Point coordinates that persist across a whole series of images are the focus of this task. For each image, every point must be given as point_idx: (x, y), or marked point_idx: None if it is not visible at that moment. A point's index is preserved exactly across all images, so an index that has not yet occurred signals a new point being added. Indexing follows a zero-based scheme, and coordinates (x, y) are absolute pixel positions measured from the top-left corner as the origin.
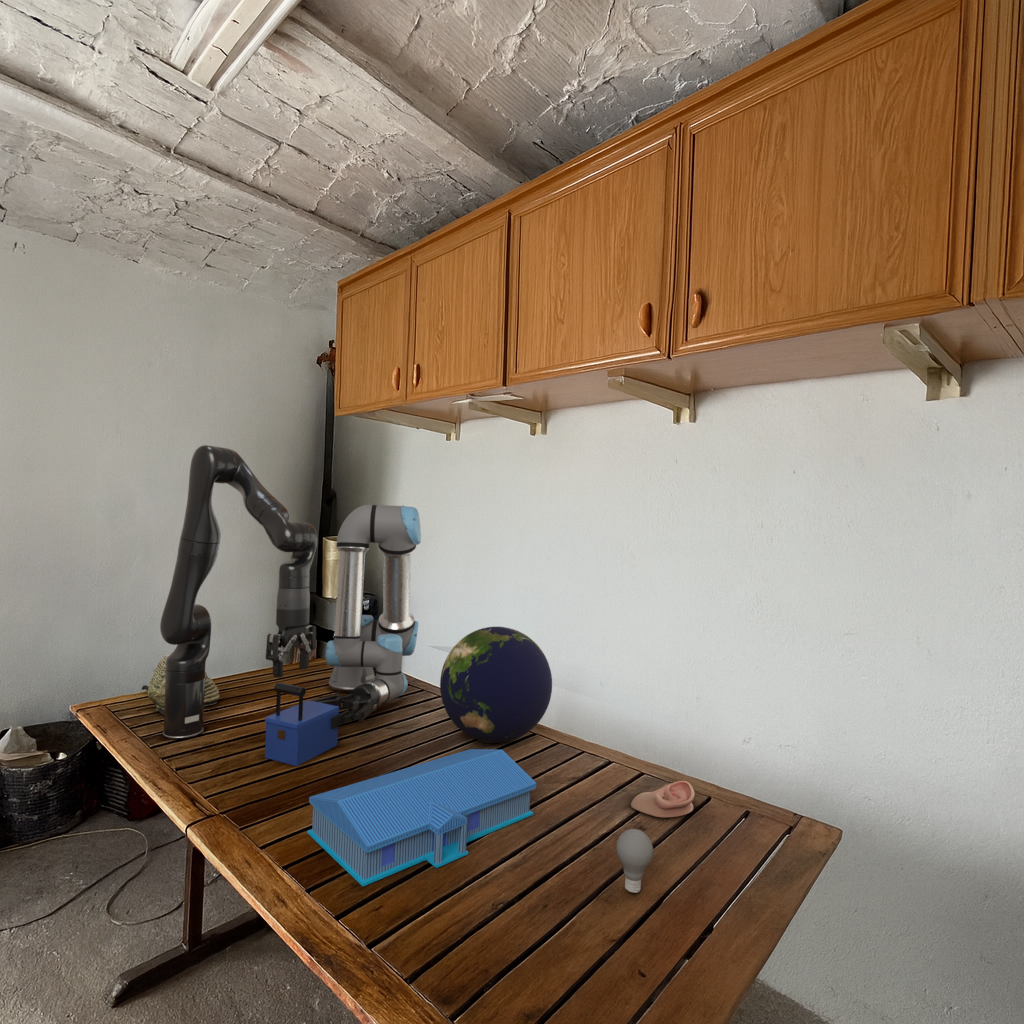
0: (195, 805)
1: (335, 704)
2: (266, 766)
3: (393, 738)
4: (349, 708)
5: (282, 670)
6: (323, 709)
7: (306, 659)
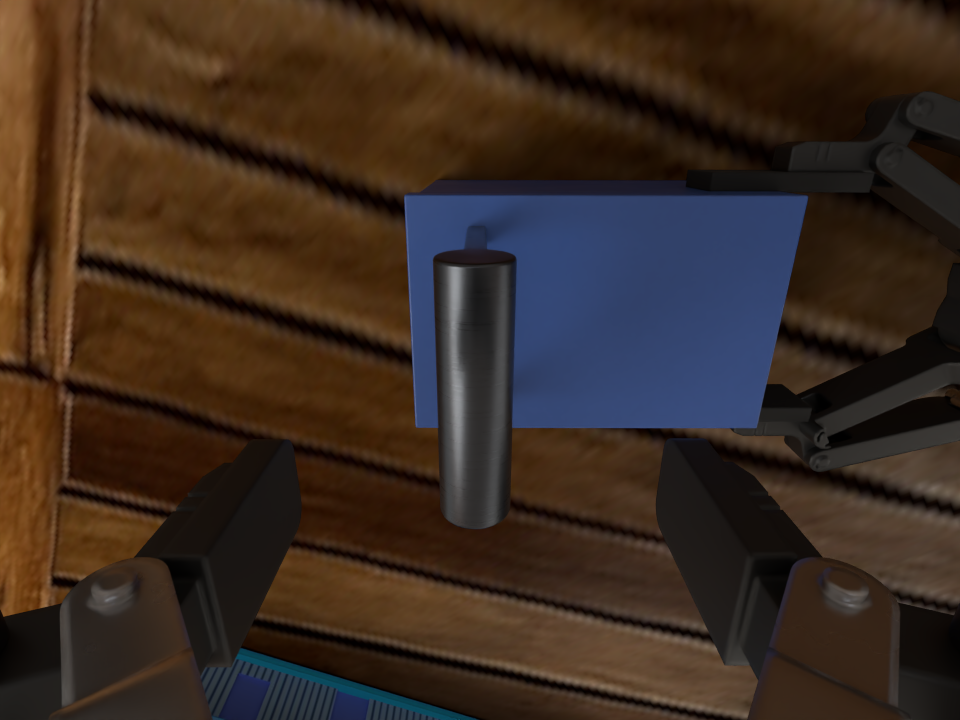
0: (28, 277)
1: (951, 233)
2: (378, 251)
3: (817, 479)
4: (944, 303)
5: (272, 570)
6: (679, 390)
7: (699, 606)
